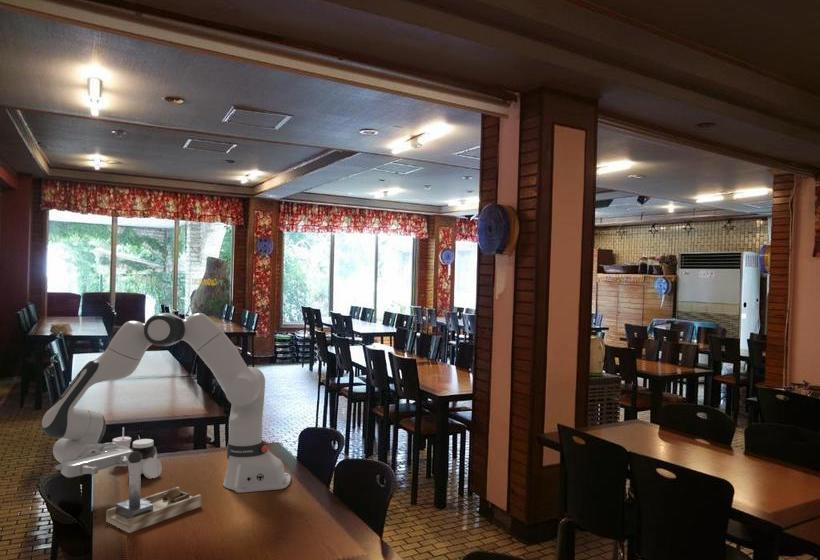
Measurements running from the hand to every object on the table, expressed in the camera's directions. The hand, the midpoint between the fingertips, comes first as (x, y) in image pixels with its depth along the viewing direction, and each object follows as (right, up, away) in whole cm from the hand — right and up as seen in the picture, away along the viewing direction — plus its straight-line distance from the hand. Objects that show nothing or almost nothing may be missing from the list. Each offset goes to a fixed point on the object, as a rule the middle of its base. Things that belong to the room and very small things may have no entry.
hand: (111, 467), depth 174 cm
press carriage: (+10, -11, -6) cm, 17 cm away
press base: (+13, -13, -2) cm, 19 cm away
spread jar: (-4, -13, +32) cm, 35 cm away
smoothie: (-18, -13, +42) cm, 48 cm away
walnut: (+17, -9, +4) cm, 20 cm away
